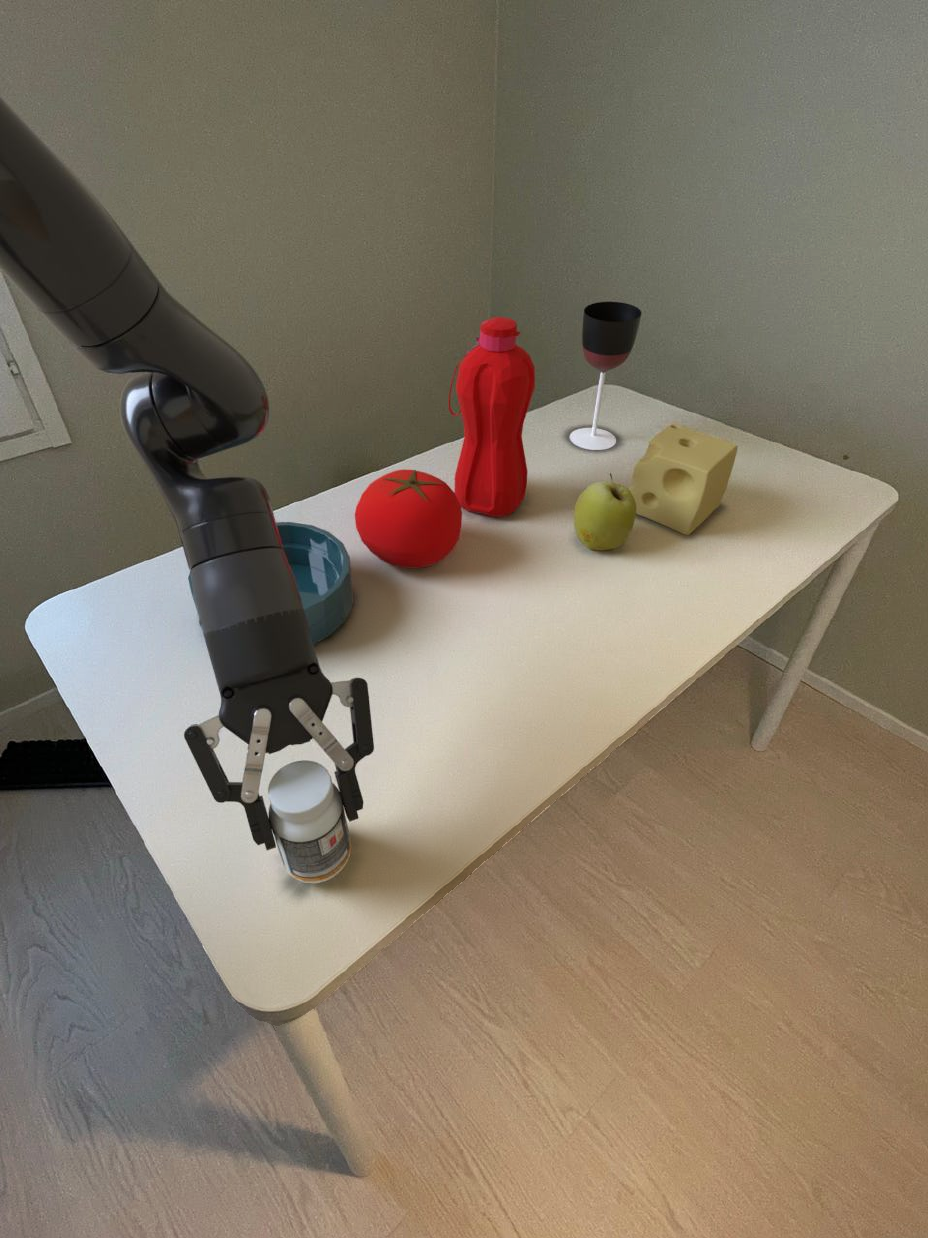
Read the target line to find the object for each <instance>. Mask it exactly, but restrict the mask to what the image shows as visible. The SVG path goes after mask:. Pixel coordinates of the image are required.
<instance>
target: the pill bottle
mask: <svg viewBox="0 0 928 1238" xmlns="http://www.w3.org/2000/svg"><path fill="white" fill-rule="evenodd" d="M267 797H268V799H269V806H268V818H269V822H270V825H271V829H272V832H273V836H274V840H275V844H276V848H277V850H278V853H279V856H280V860H281V862H282V865H283V867H284V869H285V870H286V872H287V873H288V875H290V876H291V877H292V878H293V879H294V880H296V881H298V882H300V883H305V884H319V883H323V882H326V881H329V880H331V879H333V878H334V877H335V876H337V875H338V874H339V873H341V871H343V869H344V868H345V867H346V865H347V863H348V862H349V858H350V856H351V850H352V842H351V835H350V831H349V826H348V821H347V816H346V813H345V809H344V806H343V801H342V797H341V794H340V791H339V788H338V786H336V785H335V783H334V782H333V780H332V776H331V774H330V772H329V771H328V769H327V768H326V766H324V765H323V764H321V763H319V762H317V761H313V760H306V759H304V760H303V759H302V760H296V761H293V762H290V763H288V764H285V765H284V766H282V767H281V768H279V769H278V770H277V771H276V772H275V773H274V774H273V776H272V777H271V779H270V781H269V784H268V788H267Z"/></svg>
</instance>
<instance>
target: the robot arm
mask: <svg viewBox="0 0 928 1238" xmlns="http://www.w3.org/2000/svg"><path fill="white" fill-rule="evenodd" d="M0 271H1V272H2V273H3V274H4V275H5V276H6V277H7V278H8V280H9V281H10V282H11V283H12V284H13V285H14V286H15V287H16V289H18V290H19V291H20V293H21V294H22V295H23V296H24V297H25V298H26V299H27V300H28V301H29V302H30V304H32V306H33V307H34V308H35V309H36V310H37V311H38V312H39V313H40V314H41V315H42V316H43V317H44V318H45V319H46V320H47V322H49V323H50V324H51V326H52V327H53V328H54V329H55V330H56V331H57V332H58V333H59V334H60V335H61V336H62V337H63V338H64V339H65V340H66V341H67V342H68V344H69V345H71V347H72V348H73V349H74V350H75V351H76V352H77V353H78V354H79V355H80V356H81V357H82V358H83V359H84V360H86V362H87V363H89V364H90V365H91V366H93V367H94V368H96V369H97V370H100V371H102V372H105V373H108V374H115V375H126V374H128V375H129V374H137V375H134V376H133V377H131V378H130V379H129V380H128V381H127V382H126V383H125V384H124V387H123V389H122V391H121V394H120V397H119V404H118V405H119V407H118V408H119V409H118V410H119V419H120V423H121V426H122V429H123V431H124V433H125V435H126V438H127V439H128V441H129V443H130V444H131V445H132V448H133V450H134V451H135V452H136V454H137V455H138V457H139V459H140V460H141V461H142V463H143V465H144V467H145V468H146V470H147V471H148V473H149V475H150V477H151V478H152V480H153V481H154V484H155V485H156V487H157V489H158V491H159V493H160V494H161V496H162V498H163V500H164V502H165V503H166V505H167V507H168V509H169V511H170V513H171V515H172V517H173V519H174V521H175V524H176V526H177V531H178V534H179V538H180V542H181V546H182V549H183V552H184V556H185V559H186V563H187V566H188V570H189V573H190V575H191V580H192V588H193V595H194V600H193V602H194V601H195V603H194V606H195V605H196V606H195V609H196V612H197V616H198V623H199V625H200V627H201V631H202V634H203V638H204V641H205V644H206V649H207V652H208V656H209V659H210V663H211V667H212V671H213V674H214V678H215V681H216V685H217V687H218V691H219V695H220V707H219V711H218V715H215V716H214V717H211V718H208V719H207V720H205V721H203V722H200V723H194V724H191V725H190V726H188V727H187V728H186V729H185V730H184V733H183V738H184V740H185V743H186V744H187V746H188V749H189V751H190V752H191V754H192V757H193V758H194V761H195V763H196V765H197V766H198V769H199V771H200V773H201V775H202V777H203V779H204V781H205V783H206V785H207V788H208V790H209V791H210V793H211V796H212V798H213V800H214V801H215V802H217V803H220V804H221V803H222V804H223V803H226V802H228V803H229V802H230V803H239V804H240V805H242V807H243V809H244V811H245V815H246V818H247V822H248V826H249V830H250V833H251V836H252V840H253V842H254V843H255V844H256V845H257V846H261V845H263V844H264V847H265V850H266V851H270V850H274V849H276V848H277V844H276V840H275V837H274V834H273V831H272V829H271V825H270V822H269V813H268V811H267V808H266V804H265V800H264V797H263V795H260V786H261V779H262V774H263V770H264V763H265V757H266V754H268V755H271V754H275V753H278V752H281V751H282V750H283V749H285V748H287V747H288V746H295V745H296V746H297V745H303V744H306V743H307V744H308V743H309V742H311V740H313V741H315V743H316V744H317V745H318V746H319V748H320V749H322V750H323V752H324V753H325V754H326V755H327V756H328V758H330V760H331V761H332V762H333V763H334V766H335V770H336V771H334V773H333V774H334V777H335V780H336V784H337V788H338V790H339V792H340V794H341V797H342V801H343V807H344V812H345V817H346V819H347V820H348V822H353V821H355V820H359V814H358V812H359V811H361V810H364V798H363V795H362V792H361V787H360V784H359V781H358V778H357V773H356V766H357V765H358V763H359V762H360V761H362V760H363V759H365V757H367V756H371V754H373V752H374V751H375V744H374V743H375V742H374V735H373V734H374V733H373V724H372V715H371V705H370V704H371V703H370V696H369V695H370V693H369V686H368V685H369V684H368V682H367V680H366V679H365V678H363V677H353V678H351V679H349V680H341V681H332V682H331V680H330V679H329V678H328V677H326V676H325V674H324V673H323V671H322V669H321V665H320V663H319V660H318V655H317V652H316V649H315V644H313V641H312V637H311V634H310V630H309V627H308V623H307V619H306V616H305V612H304V609H303V605H302V602H301V597H300V594H299V591H298V587H297V583H296V580H295V577H294V574H293V572H292V569H291V567H290V565H289V563H288V560H287V558H286V555H285V552H284V550H283V546H282V542H281V539H280V535H279V532H278V528H277V524H276V522H277V521H276V517H275V514H274V510H273V506H272V502H271V499H270V497H269V494H268V492H267V489H266V488H265V487H264V485H263V484H262V482H260V481H258V480H257V479H255V478H252V477H249V476H220V477H209V478H208V477H206V476H205V474H204V473H203V471H202V470H201V466H200V464H199V459H202V458H205V457H208V456H211V455H214V454H217V453H221V452H224V451H226V450H229V449H232V448H236V447H238V446H242V445H245V444H248V443H250V442H252V441H254V440H255V439H257V438H258V437H259V436H260V435H261V434H262V433H263V432H264V430H265V428H266V427H267V424H268V421H269V416H270V404H269V398H268V393H267V391H266V387H265V385H264V383H263V381H262V380H261V378H260V376H259V374H258V373H257V372H256V370H255V369H254V367H253V366H252V365H251V364H250V363H249V361H248V360H247V359H246V358H245V357H244V355H242V353H240V352H239V351H238V350H237V349H236V348H235V347H234V346H232V344H230V343H229V342H228V341H226V340H225V339H224V338H223V337H222V336H220V335H219V334H218V333H217V332H215V331H214V330H213V329H212V328H210V327H209V326H208V325H207V324H205V323H204V321H201V319H199V318H198V317H197V316H196V315H194V314H193V313H192V312H191V311H190V310H189V309H188V308H187V307H185V306H184V305H183V304H181V303H180V302H179V301H178V300H177V299H176V298H175V297H174V296H172V294H170V293H169V291H168V290H167V289H166V288H165V287H164V285H163V284H162V282H161V281H160V280H159V278H158V277H157V276H156V275H155V273H154V272H153V270H152V269H151V268H150V266H149V265H148V263H147V262H146V261H145V260H144V258H143V257H142V256H141V254H140V253H139V251H138V250H137V249H136V247H135V246H134V245H133V243H132V242H131V241H130V239H129V237H128V236H127V235H126V234H125V232H124V231H123V229H122V228H121V227H120V225H118V222H116V220H115V219H114V217H112V216H111V214H110V213H109V212H108V210H107V209H106V208H105V207H104V205H103V204H102V203H101V202H100V200H99V199H98V198H97V197H96V196H95V195H94V194H93V192H92V191H91V190H90V189H89V188H88V187H87V185H86V184H85V183H84V182H83V181H82V180H81V179H80V178H79V177H78V176H77V175H76V174H75V172H74V171H73V170H72V169H71V168H70V167H69V166H68V165H67V164H66V163H65V162H64V161H63V160H62V159H61V158H60V156H59V155H57V153H56V152H55V151H54V150H53V149H52V148H51V147H50V146H49V145H48V144H47V143H46V142H45V141H44V140H43V139H42V138H41V137H40V135H38V134H37V133H36V131H35V130H34V129H33V128H32V127H31V126H30V125H29V124H27V122H26V121H25V120H24V119H23V118H22V116H20V115H19V114H18V112H16V110H15V109H14V108H13V107H12V106H11V105H10V104H9V103H8V102H7V101H6V99H5V98H3V96H2V95H1V94H0ZM333 695H335V696H337V697H338V699H339V701H340V702H339V703H340V704H341V705H342V706H343V707H345V708H349V712H350V721H351V731H352V743H351V744H349V745H348V746H347V747H344V746H343V745H342V744H341V743H340V742H339V741H338V739H337V738H336V736H335V735H334V734H333V733H332V732H331V731H330V730H329V729H328V728H327V726H326V725H325V724H324V723H323V720H324V718H325V715H326V713H327V710H328V708H329V705H330V702H331V699H332V697H333ZM222 728H225V729H226V730H228V731H229V732H230V733H232V734H233V735H234V736H236V737H237V738H239V739H240V740H241V741H243V742H244V744H245V743H246V744H247V751H246V758H245V764H244V770H243V776H242V781H229V779H228V777H227V775H226V772H225V771H224V768H223V766H222V765H221V763H220V760H219V758H218V756H217V753H216V752H215V750H214V749H216V748H217V747H218V745H219V744H220V739H221V738H220V730H221V729H222Z"/></svg>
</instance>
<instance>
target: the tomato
mask: <svg viewBox="0 0 928 1238" xmlns="http://www.w3.org/2000/svg"><path fill="white" fill-rule="evenodd" d="M462 520H463V511H462V508H461V506H460V503H459V501H458V499H457V497H456V495H455V491H454V490H453V489H452V487H450V486H449V485H448V484H447V482H446V481H444V480H442V479H441V478H439V477H437V476H435V475H433V474H430V473H427V472H424V471H420V470H416V469H397V470H393V471H391V472H388V473H386V474H383V475H382V476H380V477H378V478H376V479H375V480H373V481H372V482H370V484H369V485H368V486H367V487H366V489H365V490H364V491H363V492H362V494H361V496H360V498H359V500H358V502H357V504H356V506H355V512H354V522H355V528H356V530H357V533H358V535H359V539H360V540H361V542H362V543H363V544H364V546H365V547H366V548H367V549H368V550H369V552H370V553H372V554H373V555H374V556H375V557H377V558H378V559H379V560H381V561H382V562H383V563H386V564H388V565H391V566H394V567H399V568H406V569H407V568H408V569H418V568H419V569H421V568H425V567H426V568H427V567H429V566H432V565H435V564H438V563H439V562H441V561H443V560H444V559H445V558H447V556H448V555H450V554H451V553H452V552H453V551H454V549H455V548H456V546H457V544H458V542H459V540H460V535H461V530H462V526H463V525H462V524H463V523H462V522H463V521H462Z"/></svg>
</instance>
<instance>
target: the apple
mask: <svg viewBox="0 0 928 1238" xmlns="http://www.w3.org/2000/svg"><path fill="white" fill-rule="evenodd" d="M609 476H610V479H611V481H598V482H595V483H591V484H590V485H588V486H587V487H586V488H585V489H584V490H583V491H582V492H581V494H579V497H578V499H577V501H576V503H575V506H574V511H573V512H574V513H573V527H574V531H575V534H576V536H577V538H578V539H579V541H580V542H581V543H582V544H583V545H584V547H586V548H587V549H589V550H592V551H607V550H615V549H617V548H619V547H620V546H621V545H622V544H623V543H624V542H625V541H626V540H627V538H628V537H629V535H630V533H631V532H632V530H633V527H634V524H635V520H636V516H637V514H636V503H635V500H634V497H633V495H632V493H631V492H630V491H629V490H628V489H629V488H627V487H626V486H625V485H622V484H620V483H616V482H613V477H612V476H613V475H612V473H609Z"/></svg>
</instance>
